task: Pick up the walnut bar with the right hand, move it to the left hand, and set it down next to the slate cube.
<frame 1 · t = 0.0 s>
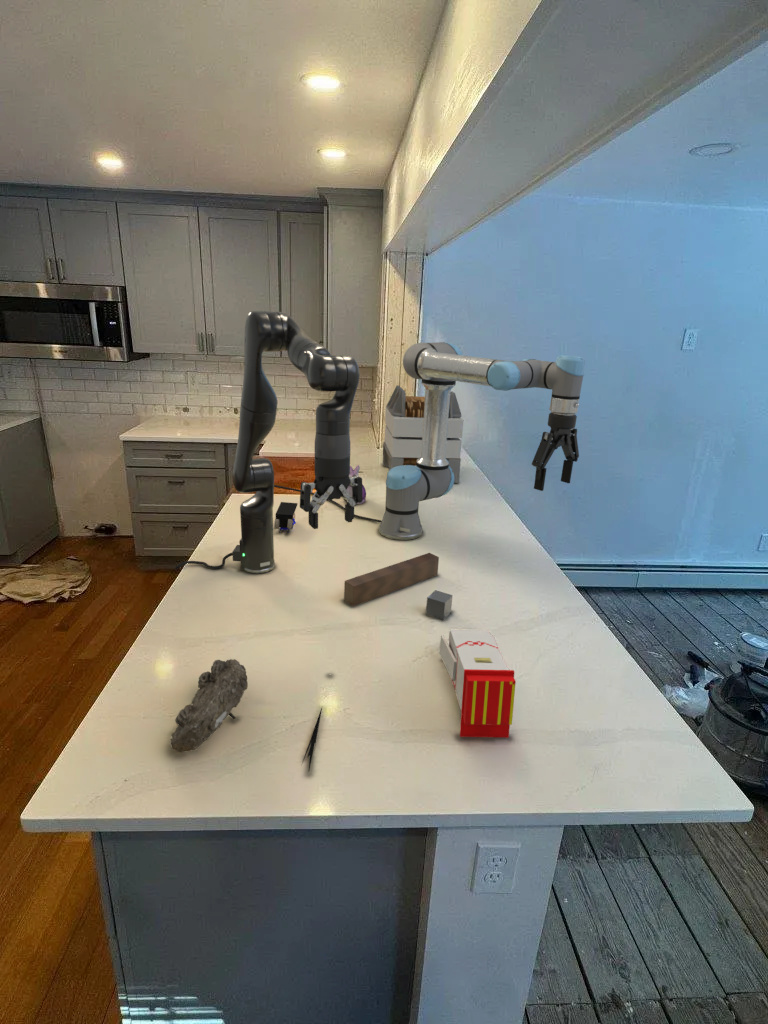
left hand: (331, 524, 125), 29 cm above the counter, fingers open, 8 cm apart
right hand: (552, 485, 166), 28 cm above the counter, fingers open, 13 cm apart
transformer: (418, 473, 275), on the counter
figurine: (355, 502, 230), on the counter
slate cube: (438, 613, 149), on the counter
figurine character: (286, 528, 200), on the counter
fossil: (215, 716, 108), on the counter
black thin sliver: (319, 719, 109), on the counter
toy: (471, 691, 119), on the counter
walnut bar: (393, 587, 162), on the counter
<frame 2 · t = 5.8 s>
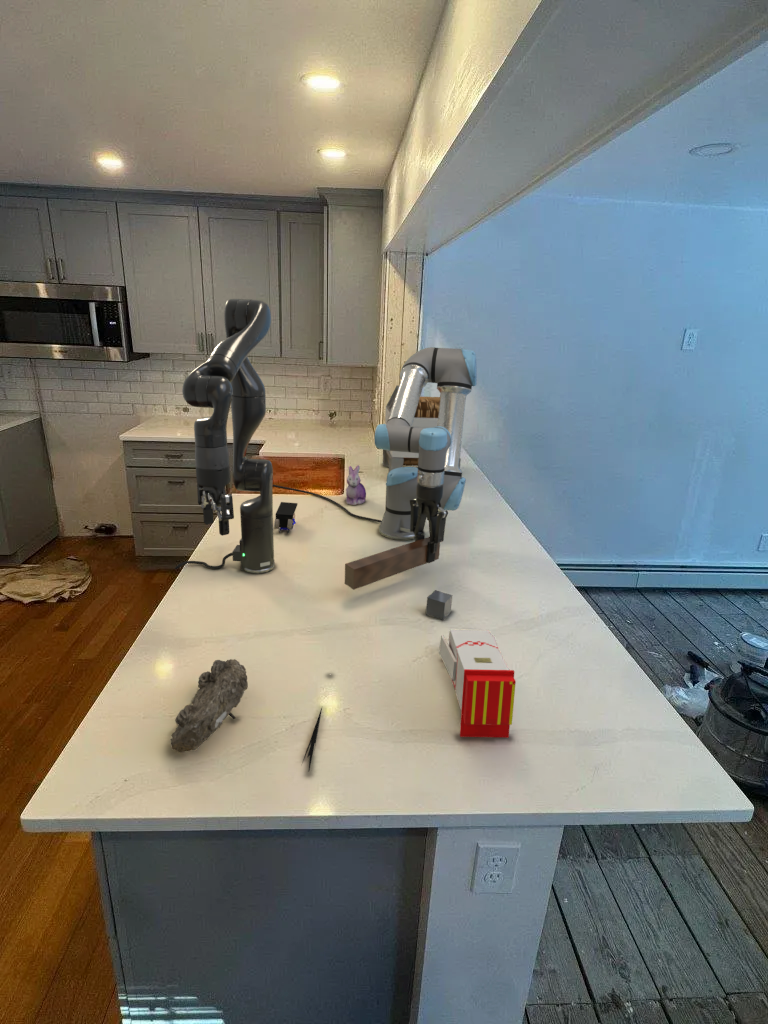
left hand: (216, 528, 136), 23 cm above the counter, fingers open, 8 cm apart
right hand: (424, 558, 168), 5 cm above the counter, fingers closed on walnut bar, 4 cm apart
walnut bar: (394, 570, 160), point 5 cm above the counter, touching right hand
everything else where it was.
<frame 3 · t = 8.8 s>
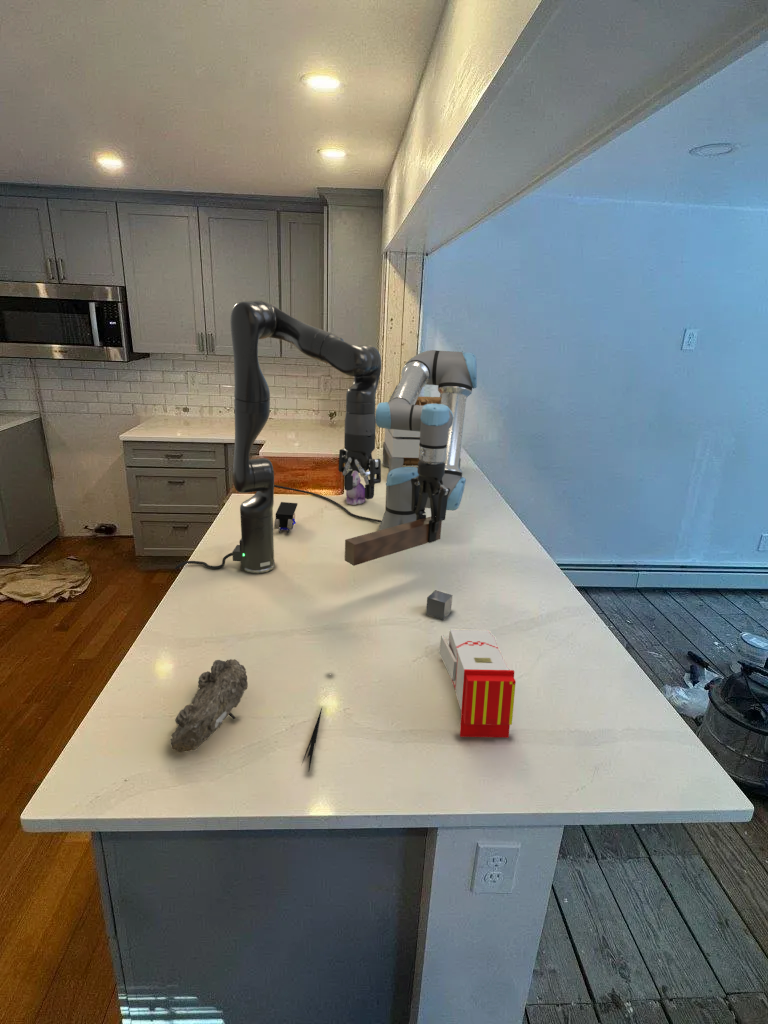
left hand: (358, 494, 143), 30 cm above the counter, fingers open, 8 cm apart
right hand: (426, 538, 165), 12 cm above the counter, fingers closed on walnut bar, 4 cm apart
walnut bar: (395, 549, 158), point 12 cm above the counter, touching right hand
everything else where it was.
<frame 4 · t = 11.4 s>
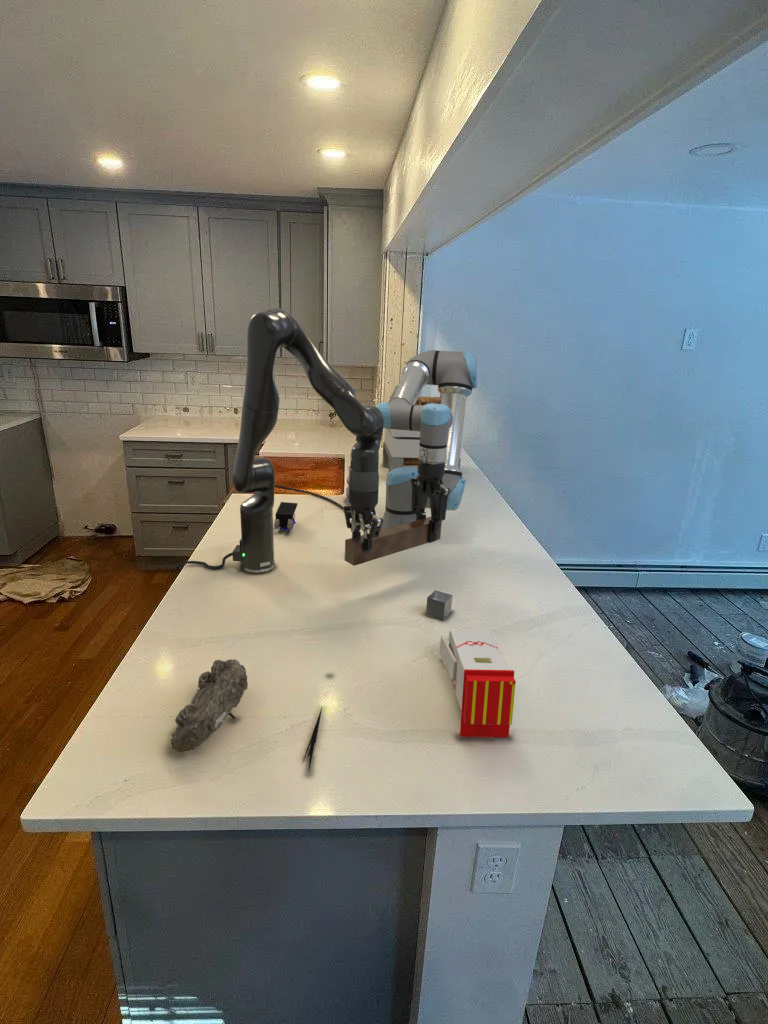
left hand: (361, 547, 149), 15 cm above the counter, fingers closed on walnut bar, 4 cm apart
right hand: (426, 538, 165), 12 cm above the counter, fingers closed on walnut bar, 4 cm apart
walnut bar: (395, 549, 158), point 12 cm above the counter, touching right hand, left hand
everything else where it was.
when the right hand's fingers open (12 cm above the counter, at t = 12.1 s): walnut bar stays where it is, held by the left hand.
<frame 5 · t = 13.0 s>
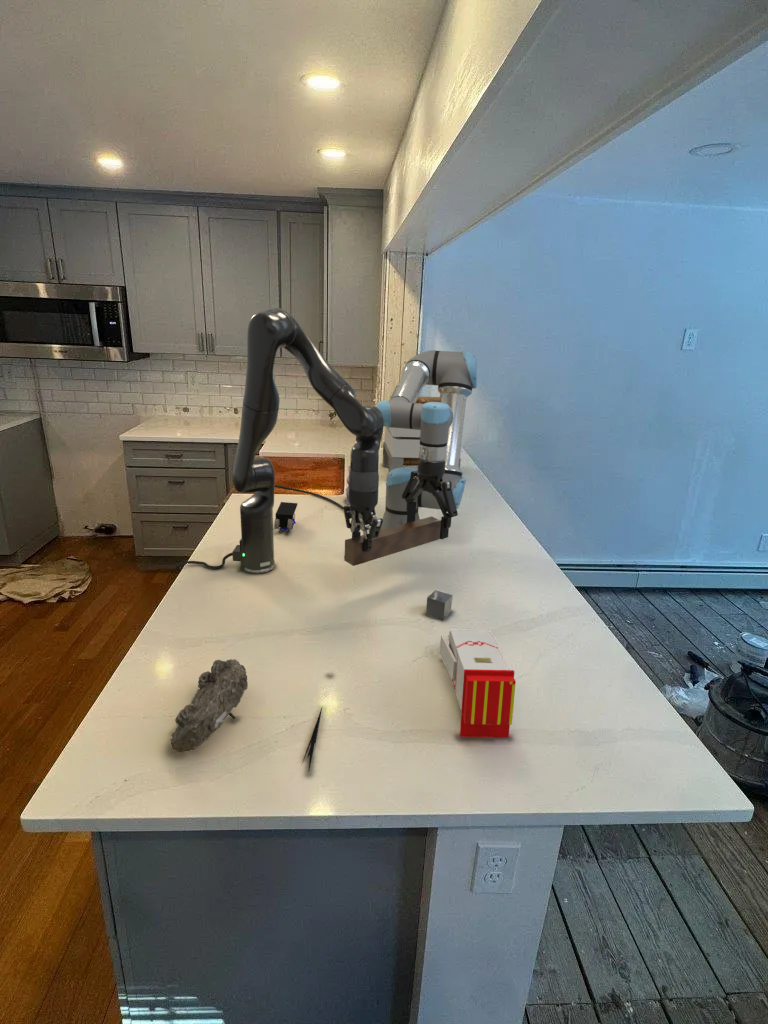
left hand: (361, 548, 149), 15 cm above the counter, fingers closed on walnut bar, 4 cm apart
right hand: (426, 530, 164), 15 cm above the counter, fingers open, 13 cm apart
walnut bar: (394, 549, 158), point 12 cm above the counter, touching left hand
everything else where it was.
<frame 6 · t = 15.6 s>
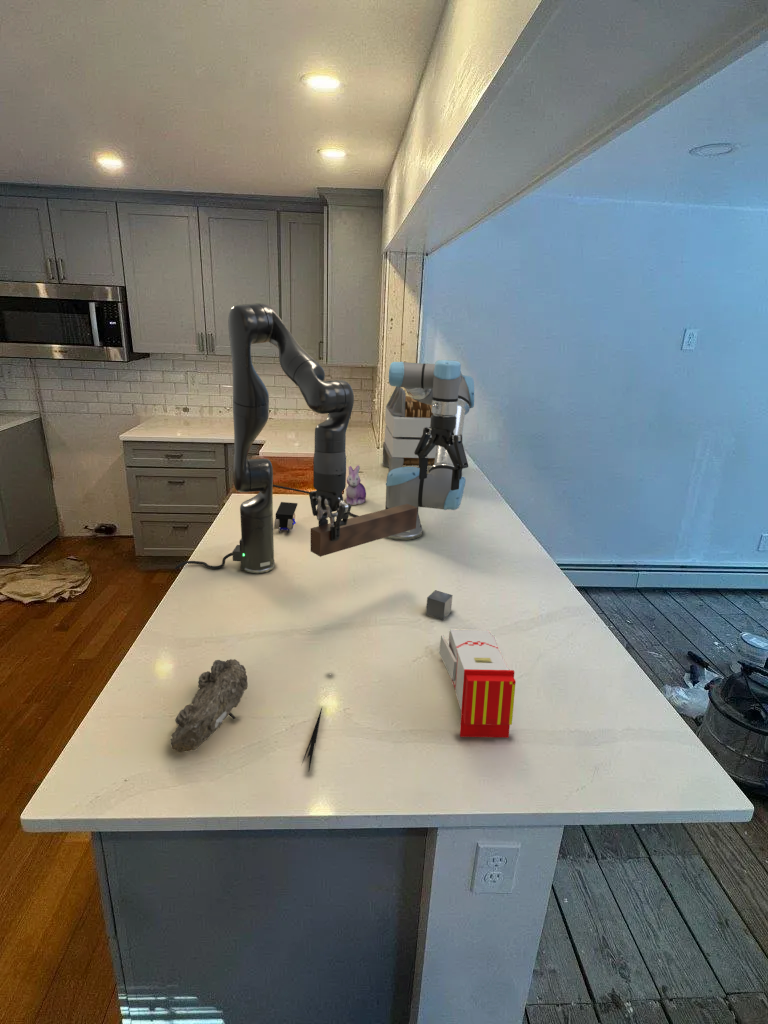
left hand: (329, 537, 136), 22 cm above the counter, fingers closed on walnut bar, 4 cm apart
right hand: (438, 484, 174), 25 cm above the counter, fingers open, 13 cm apart
walnut bar: (366, 539, 145), point 19 cm above the counter, touching left hand
everything else where it was.
when the left hand's fingers open (3 cm above the counter, at t = 20.2 s): walnut bar stays where it is, on the counter.
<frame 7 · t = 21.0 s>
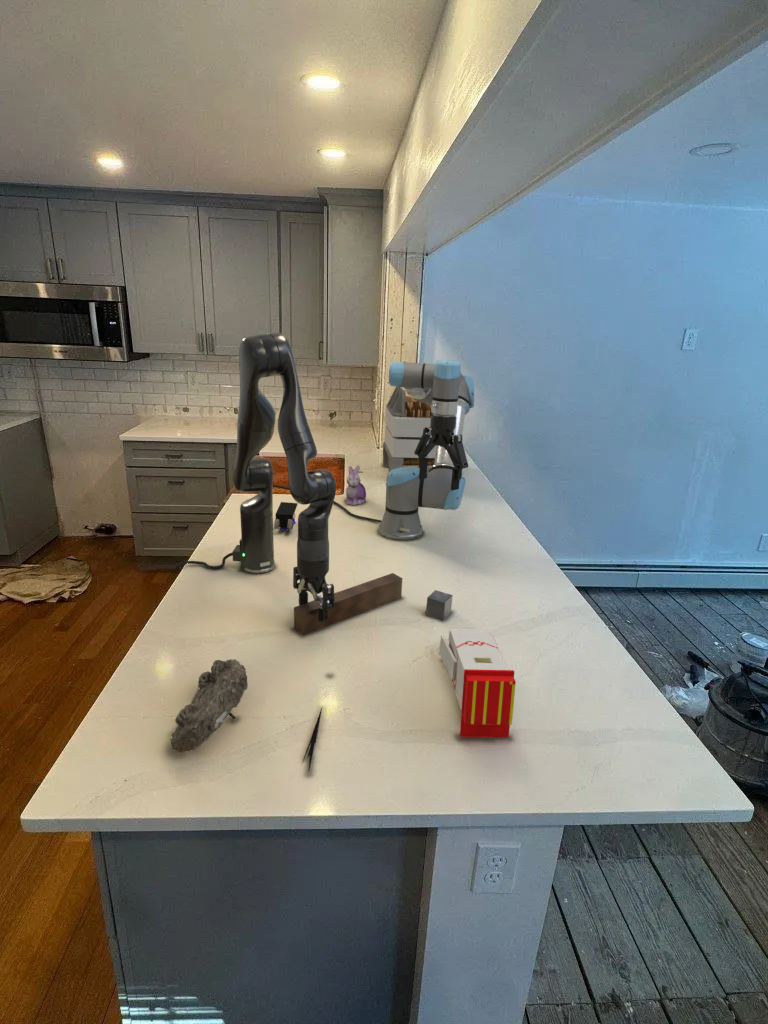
left hand: (313, 613, 139), 4 cm above the counter, fingers open, 8 cm apart
right hand: (438, 484, 174), 25 cm above the counter, fingers open, 13 cm apart
walnut bar: (350, 612, 147), on the counter
everything else where it was.
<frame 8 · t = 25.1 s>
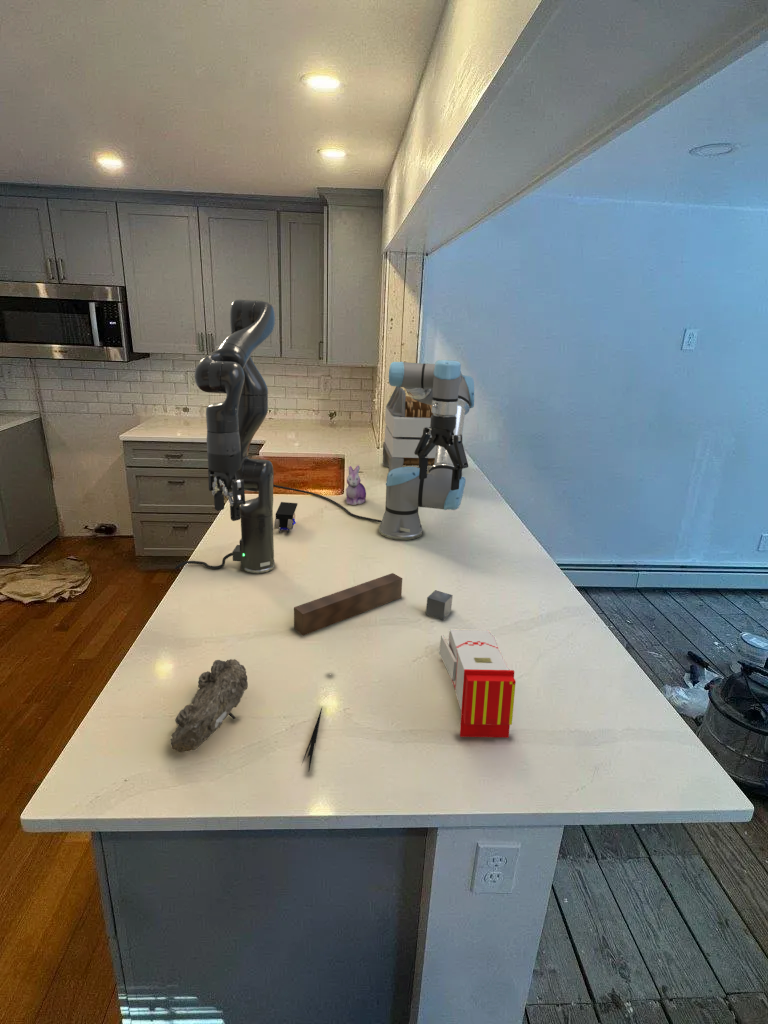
left hand: (227, 514, 137), 26 cm above the counter, fingers open, 8 cm apart
right hand: (438, 484, 174), 25 cm above the counter, fingers open, 13 cm apart
nothing on the counter moved.
at the end: walnut bar inside the target area (0.3 cm from its centre), on the counter; both hands held the walnut bar at the same time; the left hand is holding nothing; the right hand is holding nothing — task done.
